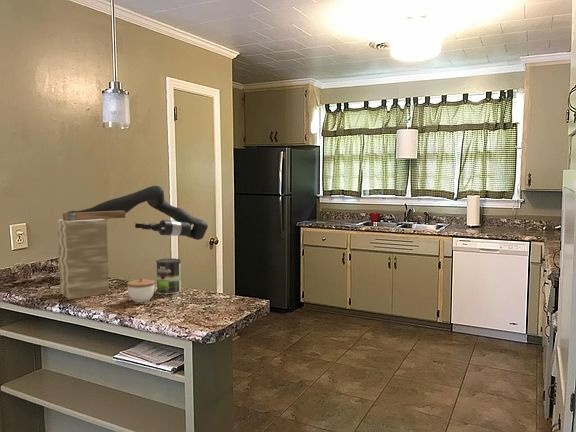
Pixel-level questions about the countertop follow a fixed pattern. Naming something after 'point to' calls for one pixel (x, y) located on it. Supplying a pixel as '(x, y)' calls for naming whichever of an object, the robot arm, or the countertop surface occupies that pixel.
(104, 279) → the stand
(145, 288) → the lidded jar
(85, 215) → the tan wooden plank
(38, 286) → the countertop surface
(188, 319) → the countertop surface
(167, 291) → the coffee can
